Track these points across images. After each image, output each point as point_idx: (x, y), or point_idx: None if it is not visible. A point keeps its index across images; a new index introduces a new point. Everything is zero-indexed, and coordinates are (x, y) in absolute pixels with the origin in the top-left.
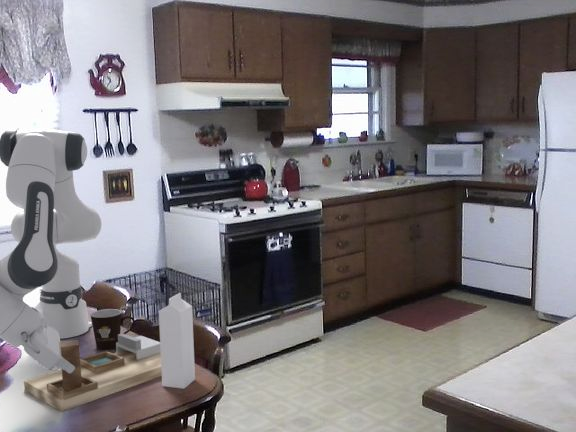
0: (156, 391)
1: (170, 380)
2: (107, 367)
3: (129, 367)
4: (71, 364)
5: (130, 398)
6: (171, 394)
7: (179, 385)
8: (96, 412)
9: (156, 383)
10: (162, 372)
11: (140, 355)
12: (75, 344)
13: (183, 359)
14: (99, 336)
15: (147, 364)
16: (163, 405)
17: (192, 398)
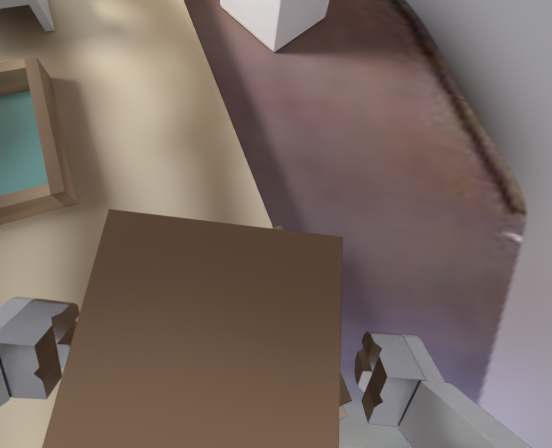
0: (304, 77)
1: (299, 18)
2: (63, 144)
3: (112, 75)
4: (433, 363)
5: (322, 154)
6: (347, 54)
7: (317, 16)
8: (389, 277)
9: (240, 58)
10: (282, 7)
11: (42, 2)
12: (302, 276)
13: None
14: None
15: (127, 19)
16: (414, 94)
17: (398, 25)
